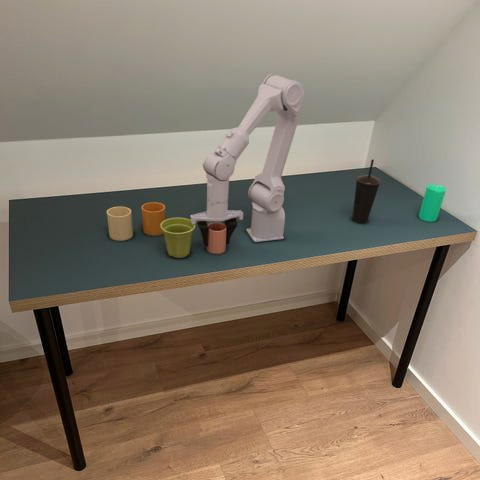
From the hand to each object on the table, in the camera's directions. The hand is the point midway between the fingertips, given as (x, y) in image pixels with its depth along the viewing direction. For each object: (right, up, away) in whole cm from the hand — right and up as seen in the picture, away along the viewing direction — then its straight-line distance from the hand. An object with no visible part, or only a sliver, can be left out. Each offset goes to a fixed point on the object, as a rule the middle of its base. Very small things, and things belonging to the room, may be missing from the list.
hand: (216, 243), depth 146 cm
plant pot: (-11, -3, -2) cm, 11 cm away
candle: (+70, +12, +26) cm, 75 cm away
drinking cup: (+46, +11, +21) cm, 52 cm away
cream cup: (-28, +3, +5) cm, 29 cm away
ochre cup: (-19, +5, +8) cm, 21 cm away
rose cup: (0, -1, +1) cm, 2 cm away
